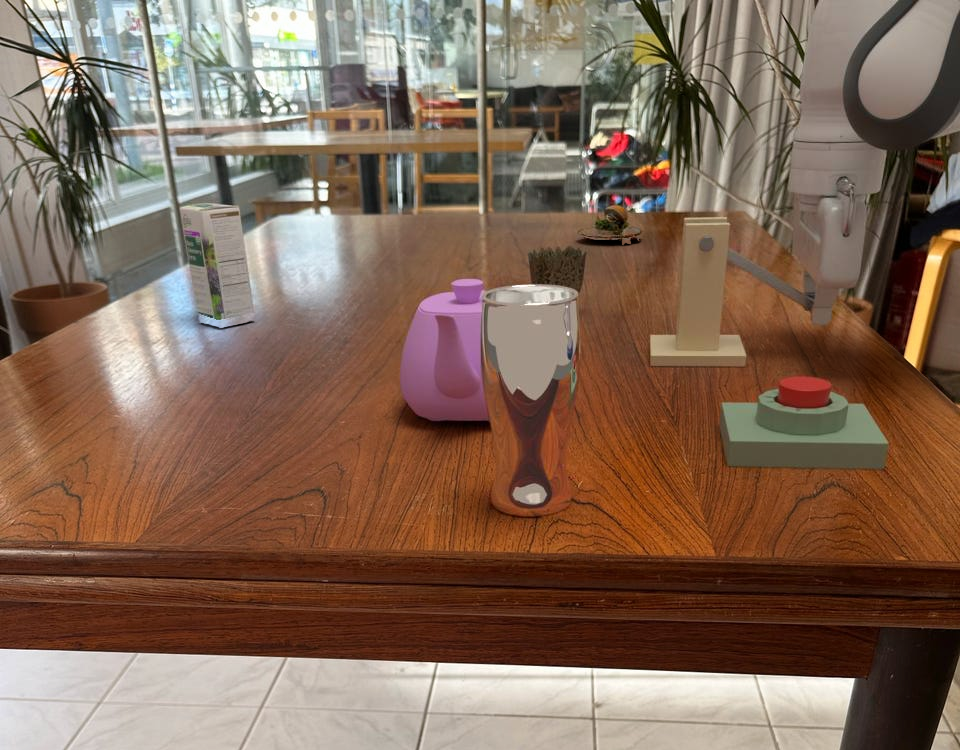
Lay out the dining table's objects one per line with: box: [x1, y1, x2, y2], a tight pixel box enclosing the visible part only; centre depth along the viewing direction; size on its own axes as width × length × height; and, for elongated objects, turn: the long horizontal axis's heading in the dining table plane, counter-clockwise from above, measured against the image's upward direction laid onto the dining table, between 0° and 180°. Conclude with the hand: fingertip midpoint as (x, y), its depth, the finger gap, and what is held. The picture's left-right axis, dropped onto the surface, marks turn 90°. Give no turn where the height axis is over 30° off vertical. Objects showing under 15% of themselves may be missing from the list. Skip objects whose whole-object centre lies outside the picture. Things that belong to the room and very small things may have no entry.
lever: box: [699, 220, 815, 314], centre depth 99 cm, size 16×5×2 cm, turn 81°
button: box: [777, 376, 832, 409], centre depth 77 cm, size 4×4×2 cm
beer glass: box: [480, 283, 582, 518], centre depth 67 cm, size 7×7×15 cm
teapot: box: [399, 278, 490, 423], centre depth 87 cm, size 20×13×12 cm, turn 170°
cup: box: [527, 245, 588, 294], centre depth 122 cm, size 8×7×8 cm
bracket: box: [649, 216, 747, 368], centre depth 101 cm, size 10×9×14 cm
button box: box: [718, 388, 890, 470], centre depth 78 cm, size 12×10×4 cm
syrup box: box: [179, 202, 255, 320], centre depth 123 cm, size 6×6×14 cm
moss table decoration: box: [577, 197, 643, 239], centre depth 172 cm, size 12×12×8 cm
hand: (814, 316), depth 100 cm, fingers closed on lever, 5 cm apart
